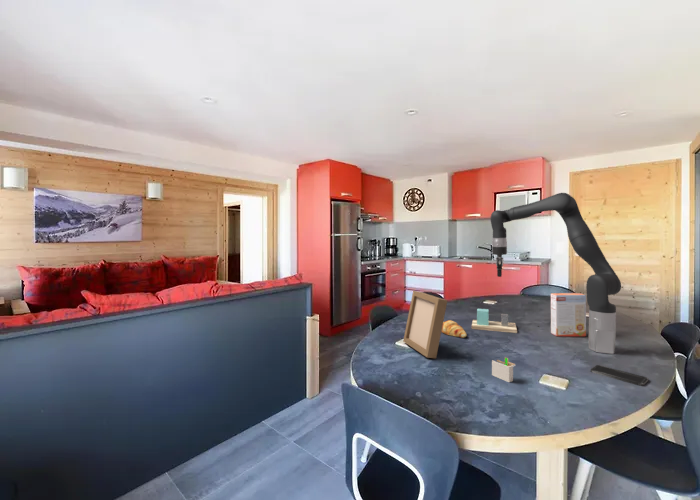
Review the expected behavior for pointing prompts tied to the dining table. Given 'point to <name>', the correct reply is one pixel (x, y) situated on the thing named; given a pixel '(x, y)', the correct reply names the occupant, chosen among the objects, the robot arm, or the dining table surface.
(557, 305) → the cracker box
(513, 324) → the birch board
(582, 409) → the dining table surface
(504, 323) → the right steel post
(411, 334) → the photo frame
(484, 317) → the light blue cube
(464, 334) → the croissant
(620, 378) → the dark grey flat bar
